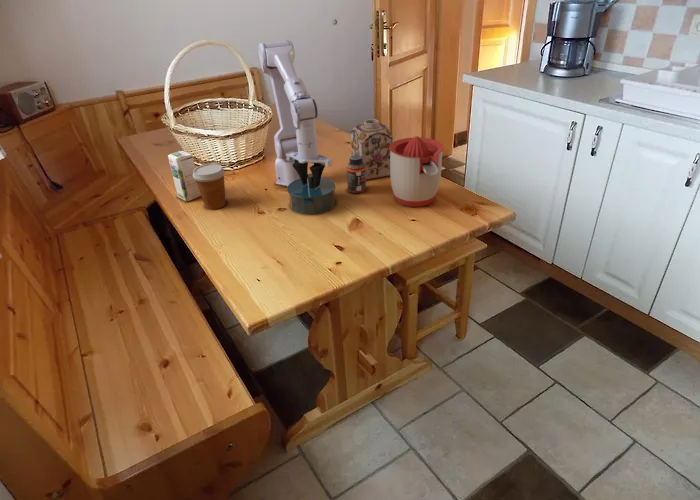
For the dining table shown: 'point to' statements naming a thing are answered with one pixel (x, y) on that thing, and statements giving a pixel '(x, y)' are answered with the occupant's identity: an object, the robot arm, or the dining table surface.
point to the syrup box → (184, 175)
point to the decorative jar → (372, 147)
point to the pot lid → (311, 188)
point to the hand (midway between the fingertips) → (311, 184)
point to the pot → (312, 204)
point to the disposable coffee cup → (211, 184)
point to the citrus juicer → (415, 170)
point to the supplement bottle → (356, 174)
